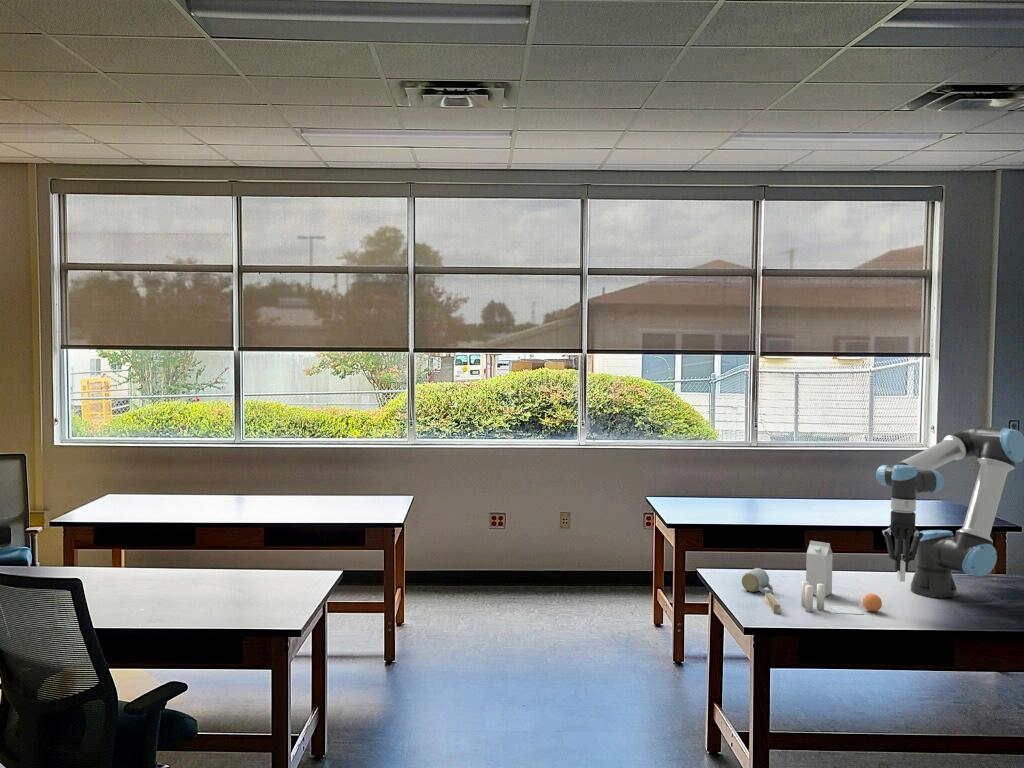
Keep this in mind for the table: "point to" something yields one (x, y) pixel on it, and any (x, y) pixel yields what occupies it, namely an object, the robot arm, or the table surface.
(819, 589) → the pin front
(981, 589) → the table surface
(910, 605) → the table surface
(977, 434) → the robot arm
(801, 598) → the pin
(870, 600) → the ball
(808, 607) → the pin
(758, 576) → the ceramic mug
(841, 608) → the white square tile
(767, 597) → the bar
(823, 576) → the milk carton
